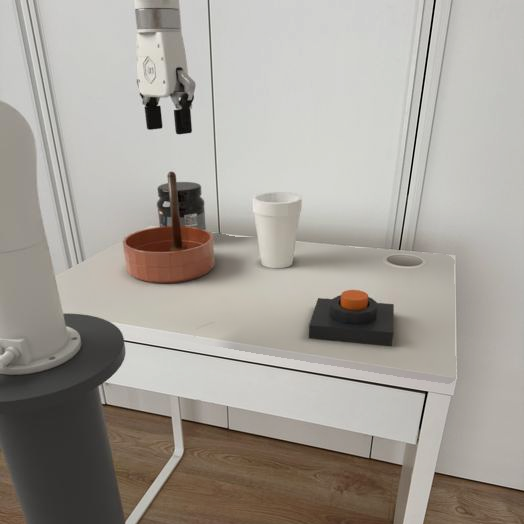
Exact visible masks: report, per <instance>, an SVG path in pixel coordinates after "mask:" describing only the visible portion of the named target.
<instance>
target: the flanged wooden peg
mask: <svg viewBox="0 0 524 524" xmlns="http://www.w3.org/2000/svg"><path fill="white" fill-rule="evenodd" d="M177 182H178V181H177V174H176V173H175V171H169V172H168V173H167V183H168V187H169V198H170V208H171V219H172V229H173V239H174V245H173V246H170V247H169V250H170V252H172V251H181V250H186V249H187V246H186V245H182V239H181V228H180V216H179V205H178V194H177Z"/></svg>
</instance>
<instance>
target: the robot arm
mask: <svg viewBox="0 0 524 524" xmlns="http://www.w3.org/2000/svg"><path fill="white" fill-rule="evenodd" d="M133 4H134V14H135V22H136V23H135V24H136V30H137V33H136V43H135V44H136V46H135V48H136V49H135V51H136V52H135V53H136V71H137V79H136V84H137V87H138V91H139V96H140V98H141V99H142V101H141V102H142V106H143V107H144V114H145V123H146V129H147V130H149V131H152V130H161V129H163V118H162V117H163V116H162V108H161V105H159V103H160V100H161V99H162V98H163V99H164V98H165V99H167V98H169V97H170V100H171V101H172V103H173V105H174V107H175V109H173V117H174V118H173V119H174V129H175V134H176V135H186V134H191V133H192V132H193V125H192V112H191V110H192V109H193V103H194V102H193V101H194V99H195V90H196V86H197V85H196V82H195V80H194V79H193V78H191V76H190V75H189V71H188V69H189V68H188V63H187V61H188V60H187V54H186V49H185V44H184V38H183V33H182V20H181V10H180V9H181V8H180V0H133ZM37 153H38V152H37V145H36V139H35V135H34V132H33V129H32V127H31V125H30V123H29V122H28V120H27V119H26V117H25V116H24V115H23V114H22V112H20V111H19V110H18V109H16V107H14V106H12V105H11V104H8V103H7V102H6V101H2V100H0V374H6V375H23V374H31V373H36V372H41V371H44V370H48V369H51V368H53V367H56V366H59V365H61V364H63V363H64V362H66V361H68V360H69V359H71V358H72V357H73V356H74V355H75V354H77V352H78V351H79V350H80V348H81V338H80V335H79V333H78V332H77V331H76V330H74V329H72V328H70V327H67V326H66V324H65V320H64V315H63V313H64V311H63V307H62V302H61V298H60V297H61V296H60V293H59V288H58V284H57V279H56V274H55V270H54V269H55V268H54V264H53V261H52V256H51V251H50V247H49V243H48V238H47V234H46V230H45V229H46V228H45V225H44V220H43V215H42V210H41V204H40V198H39V190H38V187H39V186H38V157H37Z"/></svg>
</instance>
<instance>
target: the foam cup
mask: <svg viewBox="0 0 524 524" xmlns="http://www.w3.org/2000/svg"><path fill="white" fill-rule="evenodd" d="M302 199H303V198H302V196H301V195H300V194H297V193H293V192H287V191H285V192H283V191H271V192H270V191H269V192H263V193H257V194H256V195H253V197H252V212H253V215H254V216H253V217H254V222H255V228H256V237H257V244H258V250H259V256H260V263H261V265H262V266H264V267H267V268H269V269H270V268H271V269H284V268H288V267H291V266H292V265H293V261H294V255H295V248H296V242H297V235H298V229H299V224H300V223H299V222H300V215H301V212H302V203H303V201H302Z"/></svg>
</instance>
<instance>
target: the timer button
mask: <svg viewBox="0 0 524 524" xmlns="http://www.w3.org/2000/svg"><path fill="white" fill-rule="evenodd" d="M340 295H341V304H340V305H341V307H344V308H347V309H352V310H360V309H365V308H367V305H368V297H369V294H368V293H367V292H365V291H364V290H360V289H347V290H344V291H342V292H341V294H340Z"/></svg>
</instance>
